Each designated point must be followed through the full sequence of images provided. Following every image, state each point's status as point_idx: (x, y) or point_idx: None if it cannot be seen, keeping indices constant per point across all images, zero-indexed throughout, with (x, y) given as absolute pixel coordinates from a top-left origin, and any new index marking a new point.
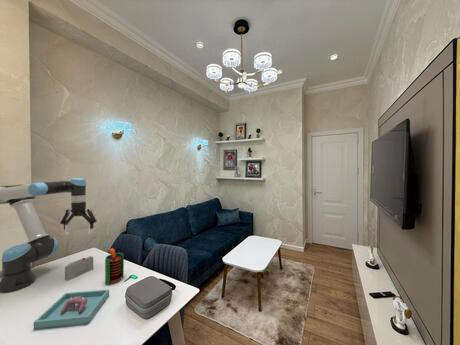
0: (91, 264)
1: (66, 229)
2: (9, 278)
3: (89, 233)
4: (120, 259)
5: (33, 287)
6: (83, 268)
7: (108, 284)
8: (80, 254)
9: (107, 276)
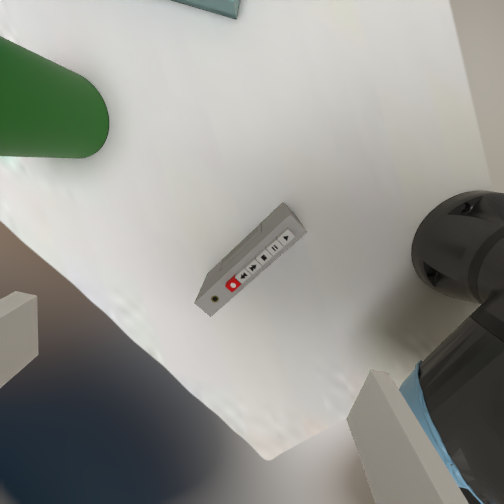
0: (208, 279)
1: (428, 474)
2: None
3: (9, 298)
4: None
5: (400, 198)
6: (234, 254)
7: (78, 74)
8: (302, 425)
9: (55, 65)
